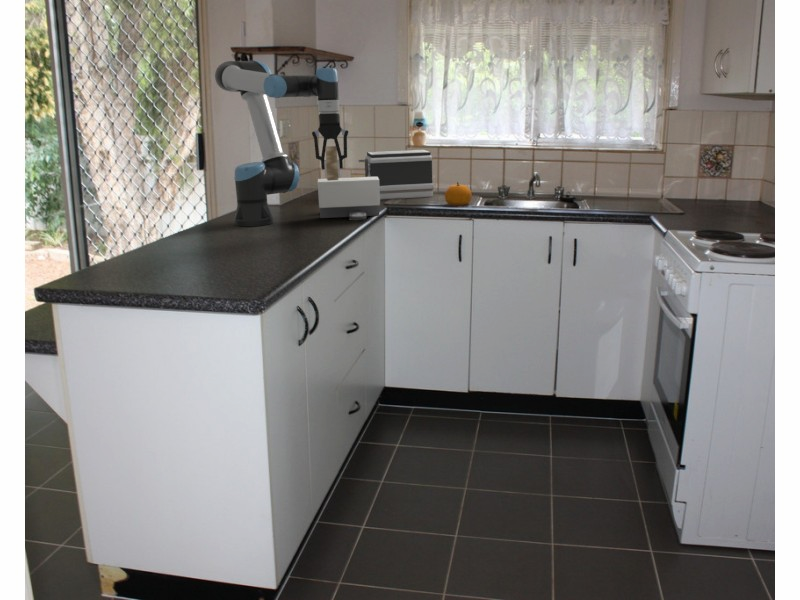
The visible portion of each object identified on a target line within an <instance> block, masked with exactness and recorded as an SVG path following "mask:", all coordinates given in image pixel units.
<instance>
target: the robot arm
mask: <svg viewBox="0 0 800 600" xmlns="http://www.w3.org/2000/svg"><path fill="white" fill-rule="evenodd" d="M214 79H215V82H216V85H217V86H218V87H219V88H220V89H222V90H224V91H226V92H230V93H231V92H234V93H235V92H236V93H237V92H240V93H239V94H240V97H241V99H242V100H243V101H245V102H246V104H247V107H248V111H249V114H250V118H251V121H252V125H253V129H254V132H255V136H256V139H257V142H258V145H259V149H260V153H261V156H262V160H261V161H254V162H247V163H243V164H239V165H238V166H236V167H235V169H234V181H235V182H234V183H235V191H236V209H235V213H234V218H233V223H234V225H235V226H236V227H259V226H267V225H271V224H273V223H274V216H273V214H272V211H271V209H270V206H269V203H268V195H269V196H270V195H274V194H286V193H288V192H293V191H294V190H295V189H296V188H297V187H298V185H299V181H300V170H299V167H298V165H297V164H296V163H295V162H292V161H290V158H289V157H290V156H289V155H288V154H286V153H285V152H284V150H283V147H282V146H283V145H282V142H281V139H280V135H279V131H278V128H277V125H276V120H275V118H274V114H273V110H272V107H271V103H270V101H269V100H270V99H269V98H274V99H279V98H306V97H307V98H309V97H317V106H318V107H317V110H318V113H319V114H318V129H316V130H315V131H314V130H313V131H312V132H311V135H312V137H313V141H314V153H315V158H316V160H319V161H320V163H321V164H320V165H321V166H320V167H321V170H324V179H327V165H326V148H325V147H327V142H328V140H330V139H331V140H334V141H333V142H334V144H335V146H336V147H337V157H338V159H337V165H338V178H341V170H342V169H344V168H343V167H344V166H343V165H344V164H343V163H344V162H343V160H344V159H347V157H348V135H349V130H347V129H343V128H342V126H341V117H340V116H341V115H340V113H339V112H340V100H339V99H340V97H339V96H340V95H339V78H338V70H337V69H336V68H334V67H323V68H322V67H321V68H316V71H315V74H309V75H307V74H305V75H304V74H300V75H295V74H294V75H293V74H291V75H288V74H287V75H286V74H285V75H283V74H281V75H280V74H274V73H272V71H271V69H270V68H269V66H268V65H267V64H266V63H264V62H263V61H258V60H257V61H256V60H230V61H229V60H228V61H224V62H222V63H221V64H219V65H218V66H217V67H216V69H215V72H214ZM319 134H320V135H321V136H322V137H323V143H322V149H321V155H320V151H319V150H320V149H319V140H318V137H319ZM340 134H342V136H343V138H342V139H343V140H342V141H343V154H342V151H341V147H340V143H339V140H338V137H339V135H340Z"/></svg>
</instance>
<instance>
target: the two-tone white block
mask: <svg viewBox="0 0 800 600" xmlns="http://www.w3.org/2000/svg"><path fill="white" fill-rule="evenodd" d="M317 191H318V192H317V193H318V194H317V195H318V207H319V215H320V217H319V218H320V219H327V218H328V219H330V218H349V211H354V210H364V211H366V217H369V216H371V217H375V216H380V206H381V200H380V185H379V178H378V177H365V176H358V177H340V178H338V180H329V181H327V179H325V178H317Z"/></svg>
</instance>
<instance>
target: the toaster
mask: <svg viewBox="0 0 800 600" xmlns="http://www.w3.org/2000/svg"><path fill="white" fill-rule="evenodd" d="M431 153H432V152H431V151H428V150H427V149H426V150H425V149H415V150H411V149H410V150H392V151H391V150H390V151H389V150H388V151H367V152H366V156H365V158H364V159H358V163H364V175H365V176H364V177H378V178H379V185H380V201H381V200H398V199H401V200H402V199H414V198H419V199H420V198H432V197H433V196H434V189H435V188H434V182H433V155H431Z"/></svg>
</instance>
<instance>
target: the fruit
mask: <svg viewBox="0 0 800 600" xmlns="http://www.w3.org/2000/svg"><path fill="white" fill-rule="evenodd" d="M472 197H473V196H472V191H471V189H470V187H468V186H467V185H464V184H459V181H457V183H456V184H451V185H450V186H449V187H448V188H447V189H446V190H445V193H444V200H445V202H446V203H447V204H448V205H450V206H457V207H458V206H466V205H468V204H469V203H470V202H471V200H472Z"/></svg>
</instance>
